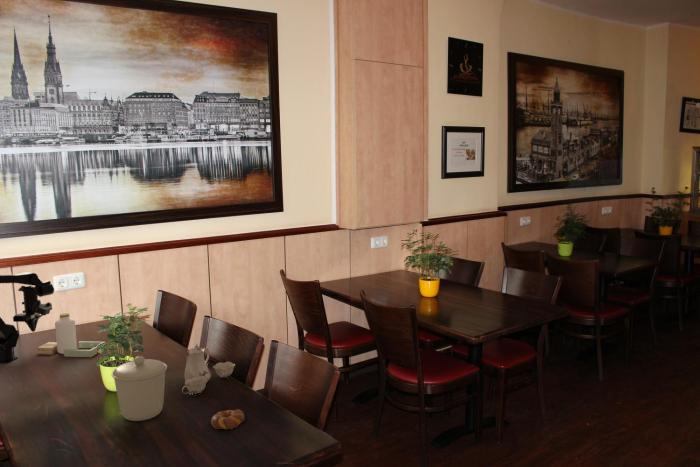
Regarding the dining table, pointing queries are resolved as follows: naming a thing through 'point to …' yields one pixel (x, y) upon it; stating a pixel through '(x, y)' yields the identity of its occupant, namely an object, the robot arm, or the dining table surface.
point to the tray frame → (83, 352)
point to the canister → (140, 388)
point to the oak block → (48, 348)
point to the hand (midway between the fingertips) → (33, 331)
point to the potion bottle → (65, 333)
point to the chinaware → (202, 370)
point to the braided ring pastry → (227, 419)
